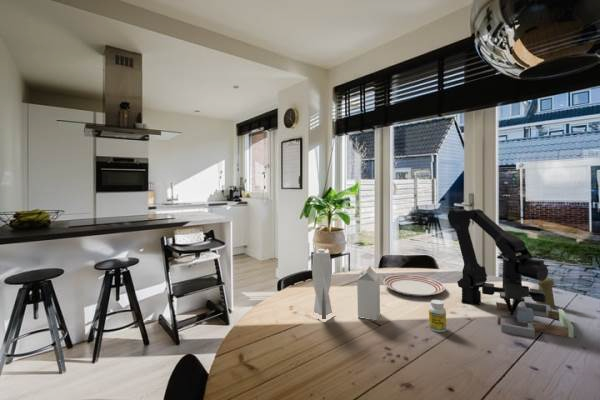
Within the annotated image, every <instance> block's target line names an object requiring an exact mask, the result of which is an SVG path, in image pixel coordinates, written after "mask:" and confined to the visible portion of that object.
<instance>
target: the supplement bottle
mask: <svg viewBox="0 0 600 400" xmlns="http://www.w3.org/2000/svg"><path fill="white" fill-rule="evenodd" d="M444 304H445V303H444V302H443V300H439V299H432V300H430V306H429V308H428V315H429V316H428V323H429V325H428V327H429V329H430V330H431V331H433V332H436V333H444V332H446V330H447V310H446V308H444Z"/></svg>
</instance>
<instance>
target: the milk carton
mask: <svg viewBox="0 0 600 400" xmlns="http://www.w3.org/2000/svg"><path fill="white" fill-rule="evenodd" d="M359 275H360V276H359V277H358V278H357V281H356V283H357V285H356V286H357V288H356V289H357V290H356V291H357V317H358V316H359V317H364V318H369V319H373V320H372V321H374V320H377V321H378V319H379V317H380V315H381V297H380V296H381V288H380V284H381V283H380V282H381V281H380V280H381V279H380V278H381V277H380V275H379V274H378V273H377V272H376V271H375V270H373V268H372V267H371V265H368V267H367V268H366V269H362V270H361V271H360V272H359ZM379 314H380V315H379ZM378 316H379V317H378Z"/></svg>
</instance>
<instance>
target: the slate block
mask: <svg viewBox="0 0 600 400" xmlns="http://www.w3.org/2000/svg"><path fill="white" fill-rule="evenodd" d="M518 306H519V305H518ZM518 306H517V313H516V320H517V323H522V324H527V321H530V322H534V316H535V315H534V313H533V310H532V309H531V308H525V307H518Z"/></svg>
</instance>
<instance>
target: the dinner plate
mask: <svg viewBox="0 0 600 400" xmlns="http://www.w3.org/2000/svg"><path fill="white" fill-rule="evenodd" d="M382 284H384V286H386V287H387V288H388V289H390V290H392V291H394V292H397V293H398V294H401V293H402V294H401V295H405V294H406V295H405V296H410V295H412V296H411V297H427V296H433V295H438V294H441V293H443V292H444V291H445V290H446V286H445V285H444V284H443V283H442V282H441V281H439V280H436V279H434V278H431V277H427V276H422V275H417V274H416V275H413V274H395V275H394V274H393V275H390V276H387V277H385V278H384V279H383V282H382Z"/></svg>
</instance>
